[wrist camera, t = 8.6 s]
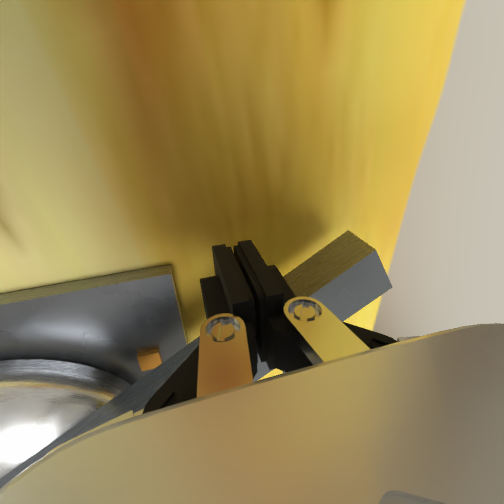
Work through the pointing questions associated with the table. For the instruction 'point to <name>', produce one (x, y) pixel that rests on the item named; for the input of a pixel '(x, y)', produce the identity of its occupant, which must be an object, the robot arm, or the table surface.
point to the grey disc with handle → (138, 394)
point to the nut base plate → (97, 322)
